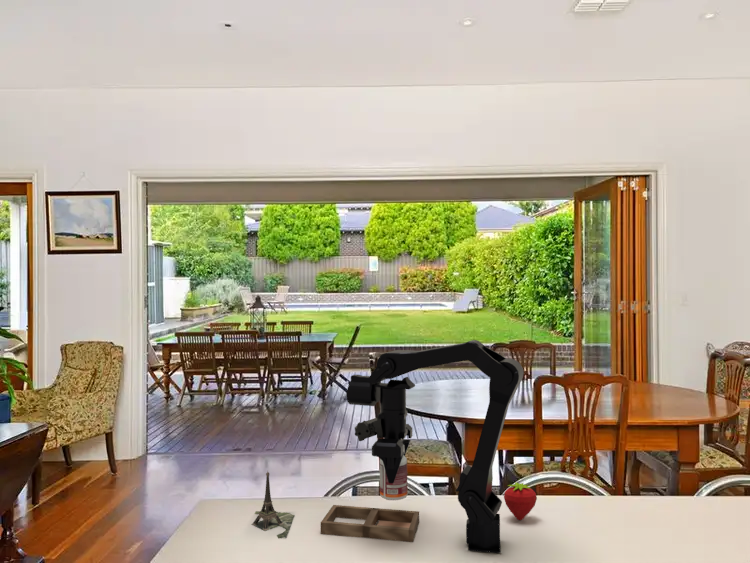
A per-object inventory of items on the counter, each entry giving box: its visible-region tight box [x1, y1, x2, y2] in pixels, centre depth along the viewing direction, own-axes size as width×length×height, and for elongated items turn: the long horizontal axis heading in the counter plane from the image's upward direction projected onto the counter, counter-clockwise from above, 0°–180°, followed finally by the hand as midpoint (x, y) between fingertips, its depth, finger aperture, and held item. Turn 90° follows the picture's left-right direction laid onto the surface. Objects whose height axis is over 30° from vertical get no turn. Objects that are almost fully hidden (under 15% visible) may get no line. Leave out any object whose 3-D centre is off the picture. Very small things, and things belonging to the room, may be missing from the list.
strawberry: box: [503, 479, 538, 521], centre depth 133 cm, size 6×8×10 cm
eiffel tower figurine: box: [250, 471, 296, 540], centre depth 131 cm, size 15×10×13 cm
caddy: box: [320, 504, 420, 543], centre depth 128 cm, size 20×10×2 cm, turn 79°
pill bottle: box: [379, 444, 408, 501], centre depth 128 cm, size 6×6×11 cm
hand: (393, 478), depth 128 cm, fingers closed on pill bottle, 6 cm apart
